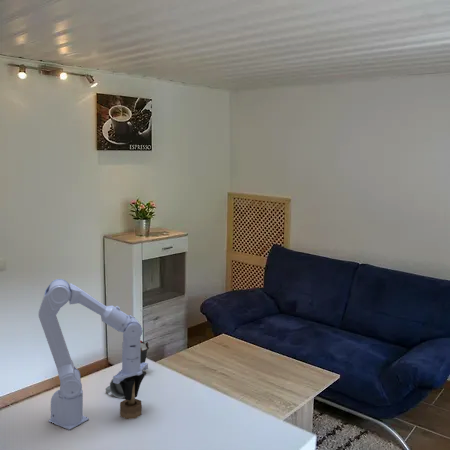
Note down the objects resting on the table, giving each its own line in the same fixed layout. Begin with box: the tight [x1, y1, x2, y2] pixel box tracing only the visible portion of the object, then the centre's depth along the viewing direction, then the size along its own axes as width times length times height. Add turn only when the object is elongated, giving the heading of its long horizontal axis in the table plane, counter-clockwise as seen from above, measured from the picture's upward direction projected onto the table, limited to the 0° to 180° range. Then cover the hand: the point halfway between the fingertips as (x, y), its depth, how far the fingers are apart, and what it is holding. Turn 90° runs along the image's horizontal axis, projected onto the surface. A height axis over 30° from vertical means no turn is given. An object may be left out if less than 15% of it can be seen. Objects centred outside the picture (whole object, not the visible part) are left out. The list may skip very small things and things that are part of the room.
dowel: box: [128, 379, 136, 405], centre depth 154 cm, size 2×2×8 cm
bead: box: [119, 398, 143, 420], centre depth 155 cm, size 7×7×4 cm
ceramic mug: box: [105, 378, 125, 399], centre depth 170 cm, size 11×8×8 cm
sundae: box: [140, 339, 150, 376], centre depth 187 cm, size 7×7×15 cm
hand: (130, 397), depth 154 cm, fingers closed on dowel, 2 cm apart
